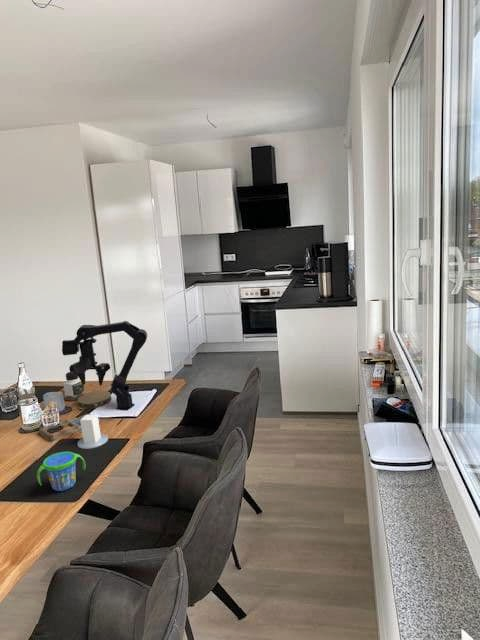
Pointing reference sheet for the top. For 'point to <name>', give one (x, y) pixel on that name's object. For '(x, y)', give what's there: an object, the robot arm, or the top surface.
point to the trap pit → (78, 422)
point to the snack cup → (61, 470)
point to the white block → (90, 428)
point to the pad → (93, 445)
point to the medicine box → (54, 399)
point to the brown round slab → (94, 399)
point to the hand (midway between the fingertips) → (92, 385)
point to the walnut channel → (59, 434)
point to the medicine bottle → (73, 385)
